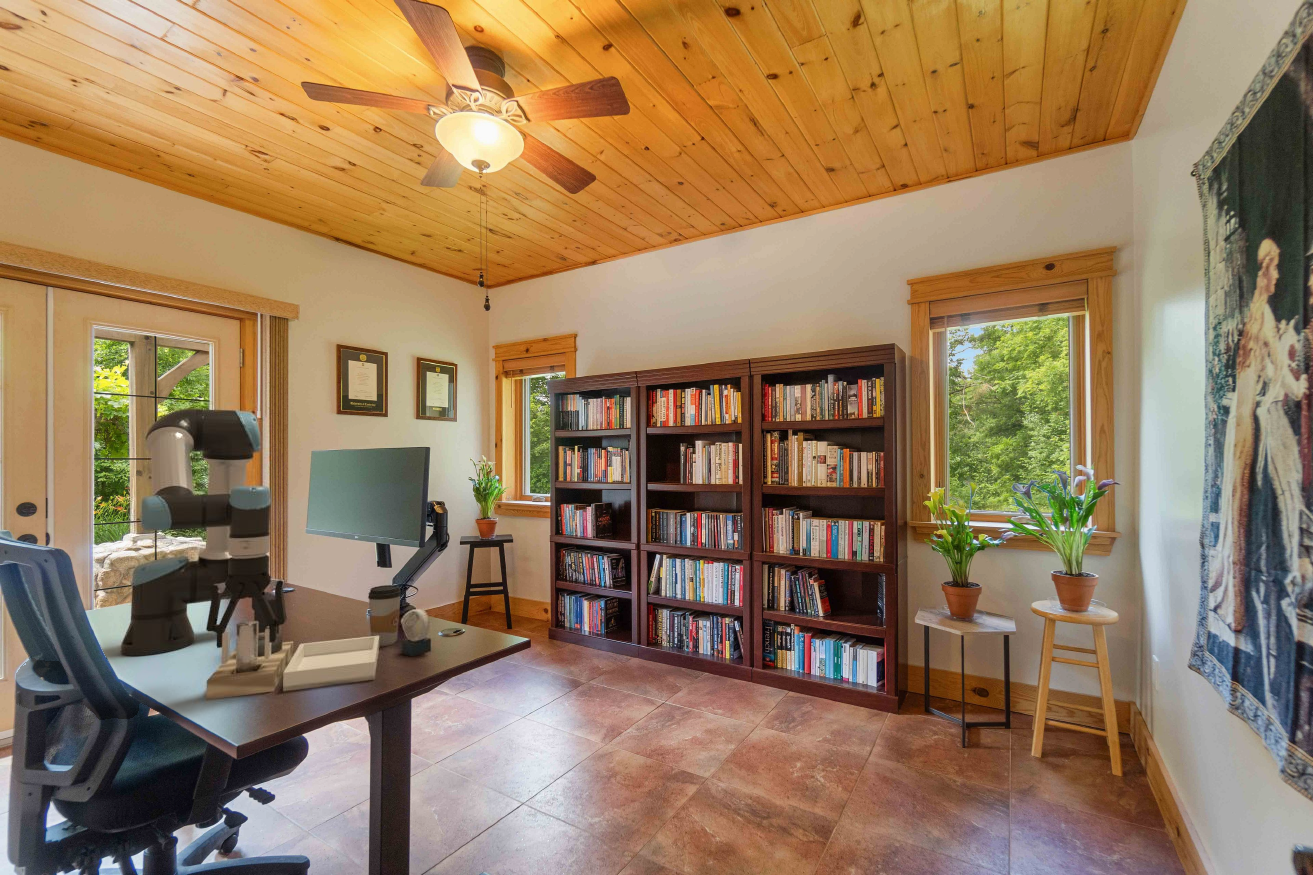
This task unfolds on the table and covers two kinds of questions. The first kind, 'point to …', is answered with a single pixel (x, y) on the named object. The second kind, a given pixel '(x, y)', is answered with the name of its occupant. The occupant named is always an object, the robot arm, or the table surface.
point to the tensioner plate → (254, 682)
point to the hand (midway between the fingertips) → (246, 659)
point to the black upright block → (260, 616)
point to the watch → (414, 643)
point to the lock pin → (247, 647)
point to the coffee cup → (384, 613)
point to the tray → (332, 663)
